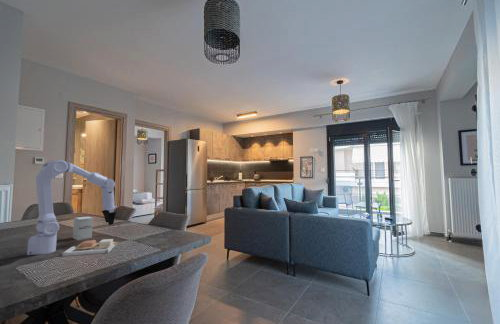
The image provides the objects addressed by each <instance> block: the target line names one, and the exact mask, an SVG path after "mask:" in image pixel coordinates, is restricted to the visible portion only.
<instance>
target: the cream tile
mask: <svg viewBox="0 0 500 324" xmlns="http://www.w3.org/2000/svg"><path fill="white" fill-rule="evenodd" d="M113 242H114V238H106V239H101V240H100V241H99V242H98V243H99V246H109V245H111V244H112V243H113Z"/></svg>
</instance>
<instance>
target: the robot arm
mask: <svg viewBox="0 0 500 324" xmlns="http://www.w3.org/2000/svg"><path fill="white" fill-rule="evenodd" d="M64 173H73V174H75V175H78V176H81V177H83V178H86V180H87V182H88V183H92V184H94V185H96V186H98V187H100V189H101V199H102V210H101V213H102V215H103V216H104V220H105V222H106V223H108V226H111V225H114V223H115V222H114V221H115V217H116V215H117V213H118V212H117V211H115V209H116V208H118V206H117V205H115V192H114V191H115V190H114V189H115V186H116V181H114V179H113V178H108V176H106V175H102V174H100V172H98V171H92V172H90V171H88V170H86V169H83V168H81V167H79V166H77V165H75V164H74V163H71V162H70V161H69V162H68V161H65V160H63V159H57V160H49V161H47V162H45V163H44V164H42V166H41V169H40V170H39V172H38V173H37V174H36V175H35V183H36V196H37V205H38V206H37V209H38V217H37V223H36V224H35V230H36V232H37V233H36V235H32V236H31V237H30V238H29V239H28V241H27V252H26V256H30V255H31V256H32V255H46V254H52V253H54V252H56V250H57V242H58V241H57V239H58V238H57V237H58V231H59V230H60V224H59V222H57V217H56V215H55V213H54V202H53V201H54V200H53V191H52V190H53V189H52V180H53V179H54V178H56V177H57V176H59V175H61V174H64Z"/></svg>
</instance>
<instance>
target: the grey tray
mask: <svg viewBox="0 0 500 324" xmlns="http://www.w3.org/2000/svg"><path fill="white" fill-rule="evenodd" d="M75 247H76V246H73V245H72V246H71V247H69V248H68V249H66V250H64V251H63V252H61V257H71V256H81V255H82V256H83V255H84V256H85V255H97V254H108V253H110V252H111V250H112V249H113V248H114V247H115V246H114V244H111V245H110V246H109V247H106V248H105V249H104V248H103V249H91V250H90V249H89V250H88V249H87V250H76V249H75ZM74 250H75V251H74Z"/></svg>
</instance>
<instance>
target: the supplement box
mask: <svg viewBox="0 0 500 324" xmlns="http://www.w3.org/2000/svg"><path fill="white" fill-rule="evenodd" d="M93 221H94V217H92V216H79V217H74V218H73V227H72V228H73V229H72V239H73V240H76V241H80V240H86V239H92V238H93V237H92V236H93V226H94V223H93Z"/></svg>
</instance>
